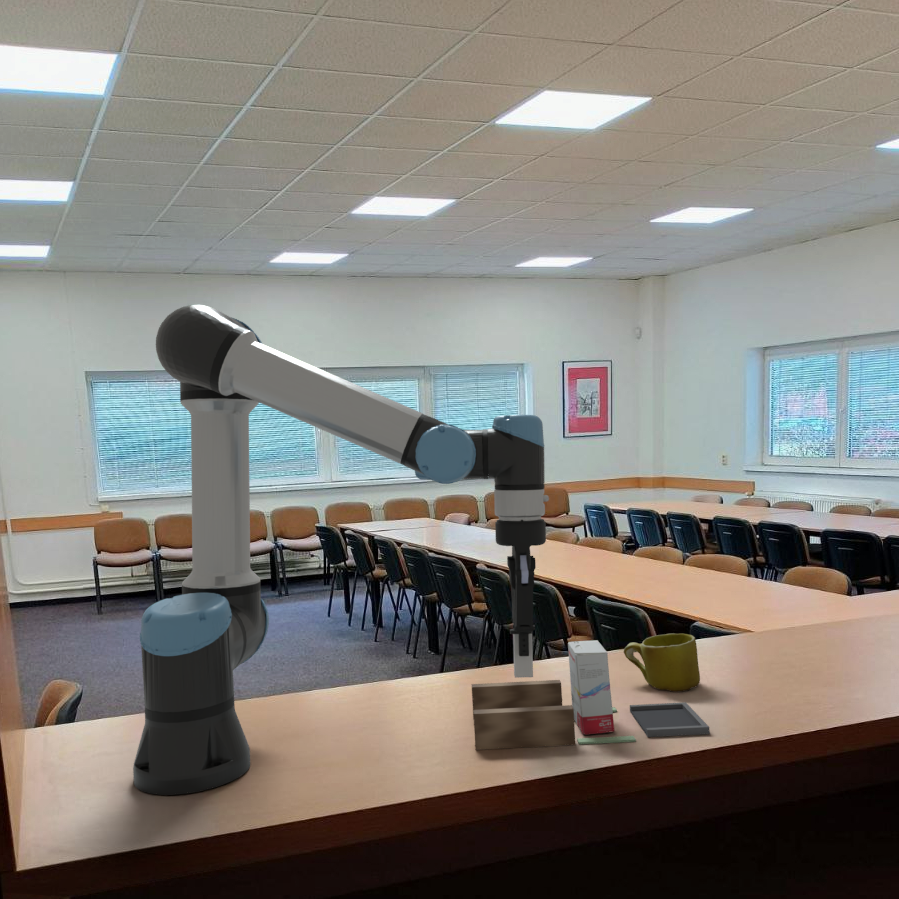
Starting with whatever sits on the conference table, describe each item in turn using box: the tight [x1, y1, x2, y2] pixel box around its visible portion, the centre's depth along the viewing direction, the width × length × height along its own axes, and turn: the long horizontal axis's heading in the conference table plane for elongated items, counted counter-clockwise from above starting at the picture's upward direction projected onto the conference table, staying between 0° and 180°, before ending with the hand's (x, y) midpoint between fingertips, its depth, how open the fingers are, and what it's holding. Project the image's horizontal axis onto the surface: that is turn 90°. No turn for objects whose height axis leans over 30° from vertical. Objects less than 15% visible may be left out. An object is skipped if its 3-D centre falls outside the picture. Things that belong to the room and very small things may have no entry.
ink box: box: [567, 639, 615, 736], centre depth 120 cm, size 9×5×12 cm, turn 0°
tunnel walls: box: [471, 679, 576, 751], centre depth 120 cm, size 14×15×5 cm
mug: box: [623, 633, 701, 693], centre depth 139 cm, size 12×10×10 cm
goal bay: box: [576, 706, 637, 745], centre depth 120 cm, size 8×15×1 cm, turn 0°
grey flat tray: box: [629, 701, 711, 738], centre depth 120 cm, size 9×12×1 cm
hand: (523, 675), depth 120 cm, fingers closed
